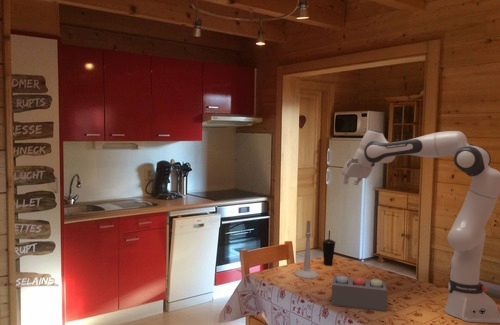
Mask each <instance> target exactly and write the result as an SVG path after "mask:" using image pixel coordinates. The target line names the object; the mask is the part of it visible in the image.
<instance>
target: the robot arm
mask: <svg viewBox="0 0 500 325" xmlns="http://www.w3.org/2000/svg"><path fill="white" fill-rule="evenodd" d="M405 155H407V156H414V157H422V158H427V159H428V158H429V159H430V158H431V159H433V158H443V157H444V158H445V157H454V158H453V162H454V165H455V167H457V169H459V170H460V171H461V172H463V173H464V174H466V175H467V176H468V177H471V183H470V185H469V188H468V190H467V194H466V196H465V199H464V201H463V204H462V207H461V209H460V210H459V212H458V213H457V214H458V215H457V216H456V218H455V220H454V222H453V224H452V226H451V228H450V230H449V232H448V234H447V237H446V241H447V243H448V245H449V247H450V248H451V249H452V250H454V251H453V255H452V257H451V260H450V276H449V279H448V290H447V291H448V295H447V300H446V304H445V306H444V309H443V311H444V312H445V313H446V314H448V315H449V316H452V317H455V318H457V319H460V320H462V321H464V322H467V323H481V324H483V323H484V324H500V312H499V309H498V306H497V303H496V301H495V300H494V299H492V298H491V297H490V296H489V295H487V293H485V292H487V291H488V290H489V289H488V286H486V285H484V284H483V283H481V282H480V271H481V262H482V258H483V257H482V256H483V254H484V253H483V252H484V248H485V247H484V246H485V240H486V237H487V236H486V235H487V234H486V229H485V227H486V224H487V223H488V221H489V219H490V218H491V216H492V214H493V212H494V209H495V206H496V203H497V202H498V198H499V196H500V171H499V170H497V169H495V168H492V167H491V166H490V165H491V162H492V157H491V155H490V152H489V151H487V149H485V148H483V147H481V146H478V145H476V144H472V143H470V144H469V143H468V139H467V136H466V135H465V134H464V133H463V132H462V131H459V130H447V131H446V130H445V131H438V132H433V133H429V134H425V135H422V136H418V137H415V138H411V139H410V138H409V139H407V140H406V139H405V140H399V141H394V142H393V141H392V142H389V141H388V140H387V139H386V137H385V135H384V133H383V132H381V131H379V130H374V129H369V130H367V131H366V132H365V133H364V135H363V137H362V138H361V140H360V143H359V146H358V148H357V149H356V151H355V153H354V155H353V158H351V159H349V160H347V162H345V164H344V166H343V168H342V170H341V175H343V176H344V180H343V182H342V183H343V185H348V184H349V179H350V178H356V179H355V180H354V182H353V185H354V186H358V185H359V183H360V182H361V181H362V180H363V179H367V178H369V176H370V175H371V173H372V171H373V168H374V167H375V166H376V163H377V164H378V163H380V164H390V163H392V162H393V161H394V160H395V159H396V157H397V156H398V157H399V156H405Z"/></svg>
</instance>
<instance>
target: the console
mask: <svg viewBox="0 0 500 325" xmlns="http://www.w3.org/2000/svg"><path fill="white" fill-rule="evenodd" d="M336 280H337V276H333V278H332V284H331V285H332V286H331V302H330V303H331V304H330V305H331V306H336V305H338V306H337V307H345V306H346V308H353V307H355V308H354V309H363V310H371V311H381V312H386V311H387V300H388V299H387V296H388V295H387V294H388V290H387V285H386V282H385V281H382V288H380V287H371V279H365V285H364V286H361V285H353V283H354V278H351V277H349V278H348V277H347V284H342V283H336Z"/></svg>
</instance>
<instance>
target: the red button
mask: <svg viewBox="0 0 500 325" xmlns="http://www.w3.org/2000/svg"><path fill="white" fill-rule="evenodd" d="M353 279H354V283H353V285H361V286H364V285H365V280H366V278H365V277H360V276H358V277H357V276H356V277H353Z"/></svg>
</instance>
